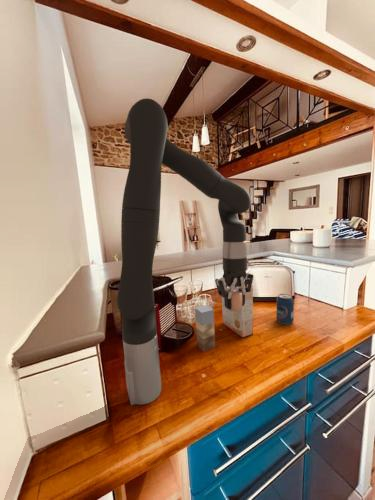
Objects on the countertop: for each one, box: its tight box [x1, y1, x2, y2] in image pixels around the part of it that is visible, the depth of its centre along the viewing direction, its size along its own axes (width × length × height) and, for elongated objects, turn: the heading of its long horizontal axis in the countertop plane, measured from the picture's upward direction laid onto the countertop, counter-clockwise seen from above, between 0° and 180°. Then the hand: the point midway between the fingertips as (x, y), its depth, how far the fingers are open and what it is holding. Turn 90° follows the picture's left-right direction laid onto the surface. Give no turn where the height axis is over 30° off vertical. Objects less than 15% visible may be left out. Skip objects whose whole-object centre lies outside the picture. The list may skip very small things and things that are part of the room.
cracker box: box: [221, 281, 254, 338], centre depth 90 cm, size 14×6×21 cm, turn 25°
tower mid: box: [195, 320, 216, 339], centre depth 79 cm, size 5×5×5 cm
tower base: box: [196, 333, 216, 352], centre depth 80 cm, size 5×5×5 cm
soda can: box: [276, 293, 295, 325], centre depth 95 cm, size 7×7×12 cm
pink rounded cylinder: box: [230, 290, 242, 312], centre depth 69 cm, size 5×5×6 cm
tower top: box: [194, 304, 215, 326], centre depth 79 cm, size 5×5×5 cm
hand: (235, 306), depth 69 cm, fingers closed on pink rounded cylinder, 4 cm apart
